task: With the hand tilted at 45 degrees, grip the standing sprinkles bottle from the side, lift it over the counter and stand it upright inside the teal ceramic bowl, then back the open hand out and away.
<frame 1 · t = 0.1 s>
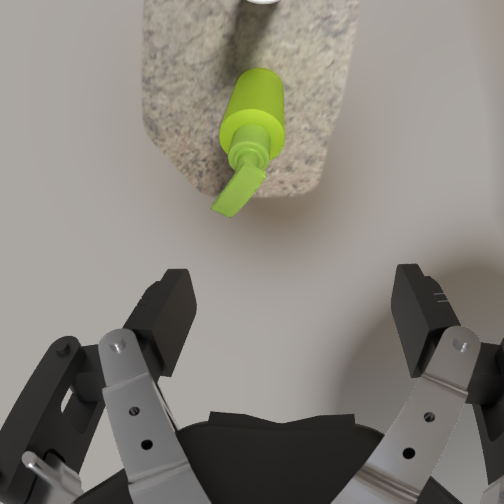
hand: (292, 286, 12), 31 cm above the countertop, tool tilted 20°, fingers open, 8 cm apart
soap dispenser: (257, 91, 36), on the countertop
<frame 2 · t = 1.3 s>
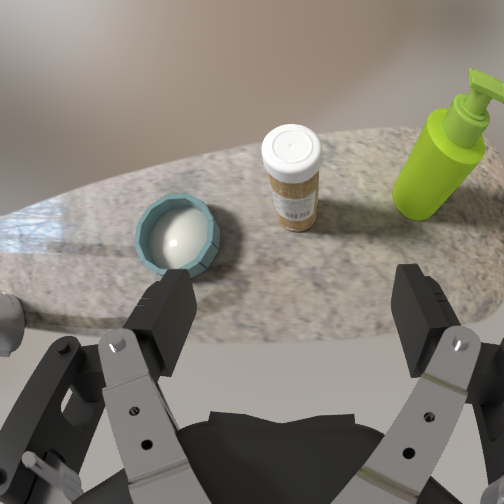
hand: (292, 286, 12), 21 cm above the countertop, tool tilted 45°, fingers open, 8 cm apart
teal bowl: (181, 240, 36), on the countertop
sprinkles bottle: (296, 214, 35), on the countertop
soap dispenser: (418, 199, 33), on the countertop
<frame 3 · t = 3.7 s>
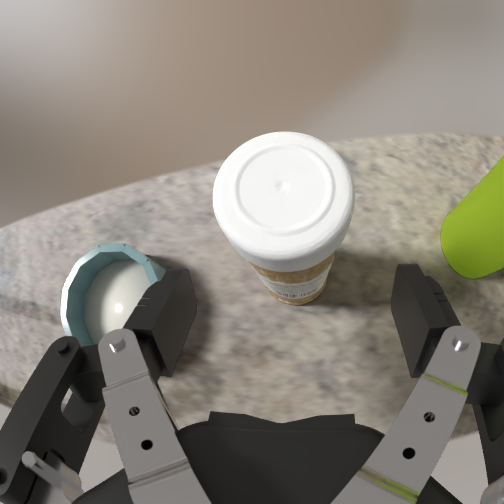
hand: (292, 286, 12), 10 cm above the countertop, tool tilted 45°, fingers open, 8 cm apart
teal bowl: (126, 310, 23), on the countertop
sprinkles bottle: (295, 274, 22), on the countertop
soap dispenser: (474, 245, 20), on the countertop
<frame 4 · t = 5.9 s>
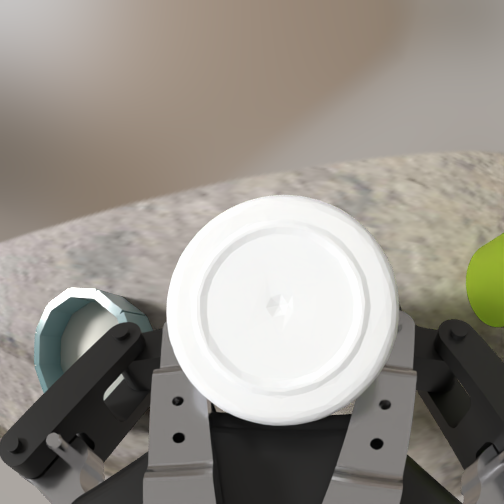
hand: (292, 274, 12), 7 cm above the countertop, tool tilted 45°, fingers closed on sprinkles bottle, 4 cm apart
teal bowl: (104, 358, 20), on the countertop
sprinkles bottle: (296, 328, 18), on the countertop, touching gripper
soap dispenser: (501, 287, 16), on the countertop
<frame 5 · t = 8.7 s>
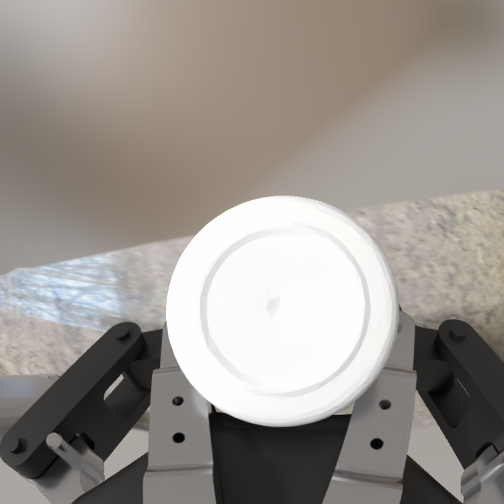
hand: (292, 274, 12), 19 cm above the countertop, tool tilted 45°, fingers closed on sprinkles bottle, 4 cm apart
sprinkles bottle: (296, 328, 18), point 12 cm above the countertop, touching gripper
when the fingers open (9 cm above the countertop, at t = 11.7 s): sprinkles bottle drops 1 cm, resting on teal bowl.
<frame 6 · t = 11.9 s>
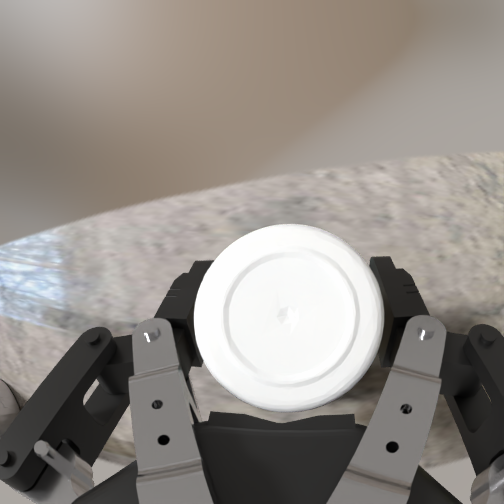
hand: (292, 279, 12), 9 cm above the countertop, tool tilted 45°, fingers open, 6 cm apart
sprinkles bottle: (298, 332, 20), resting on teal bowl
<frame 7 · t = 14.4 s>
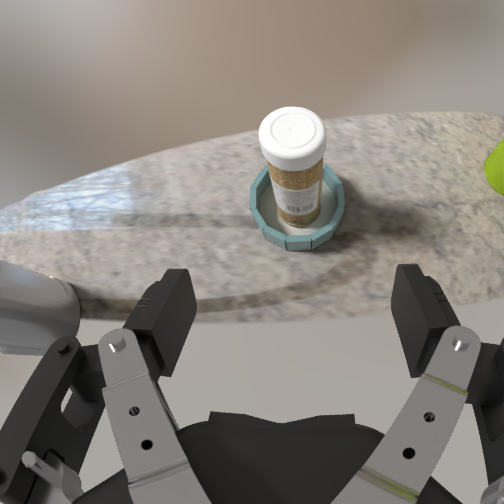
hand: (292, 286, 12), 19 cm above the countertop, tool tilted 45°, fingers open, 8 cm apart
teal bowl: (297, 208, 33), on the countertop
sprinkles bottle: (298, 209, 32), resting on teal bowl
soap dispenser: (503, 177, 30), on the countertop
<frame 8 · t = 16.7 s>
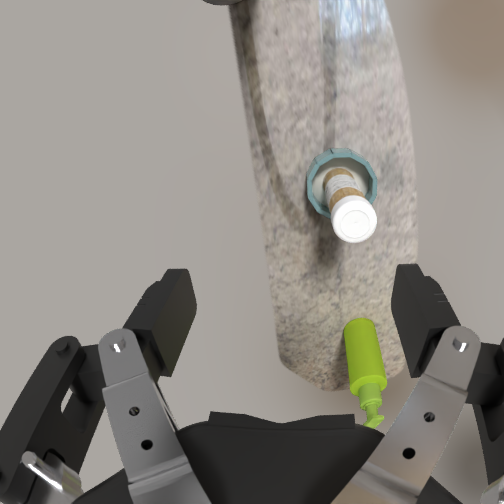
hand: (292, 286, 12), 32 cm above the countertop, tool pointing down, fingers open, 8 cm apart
teal bowl: (339, 180, 41), on the countertop
sprinkles bottle: (338, 182, 41), resting on teal bowl
soap dispenser: (357, 331, 54), on the countertop
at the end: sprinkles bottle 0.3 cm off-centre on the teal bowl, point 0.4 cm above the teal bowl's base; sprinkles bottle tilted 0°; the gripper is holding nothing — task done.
